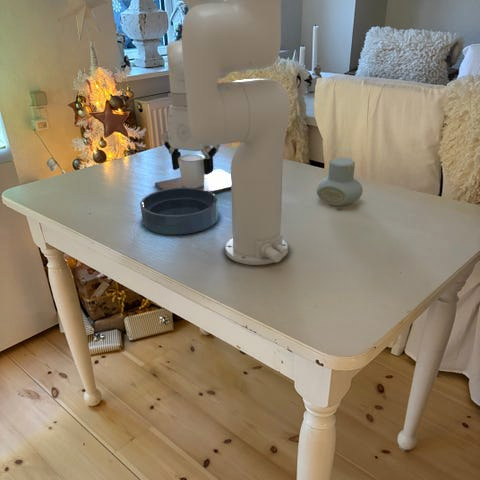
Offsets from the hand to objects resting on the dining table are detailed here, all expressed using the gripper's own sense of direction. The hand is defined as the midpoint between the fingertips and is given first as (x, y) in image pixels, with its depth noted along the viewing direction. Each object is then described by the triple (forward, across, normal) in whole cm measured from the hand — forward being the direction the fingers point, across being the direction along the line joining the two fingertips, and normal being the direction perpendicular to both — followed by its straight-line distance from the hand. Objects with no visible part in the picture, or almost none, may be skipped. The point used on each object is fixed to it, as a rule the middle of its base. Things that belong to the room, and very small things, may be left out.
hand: (192, 170), depth 127 cm
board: (+5, +1, +2) cm, 5 cm away
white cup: (+4, 0, 0) cm, 4 cm away
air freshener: (+5, +37, +8) cm, 38 cm away
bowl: (+5, +8, -18) cm, 21 cm away
